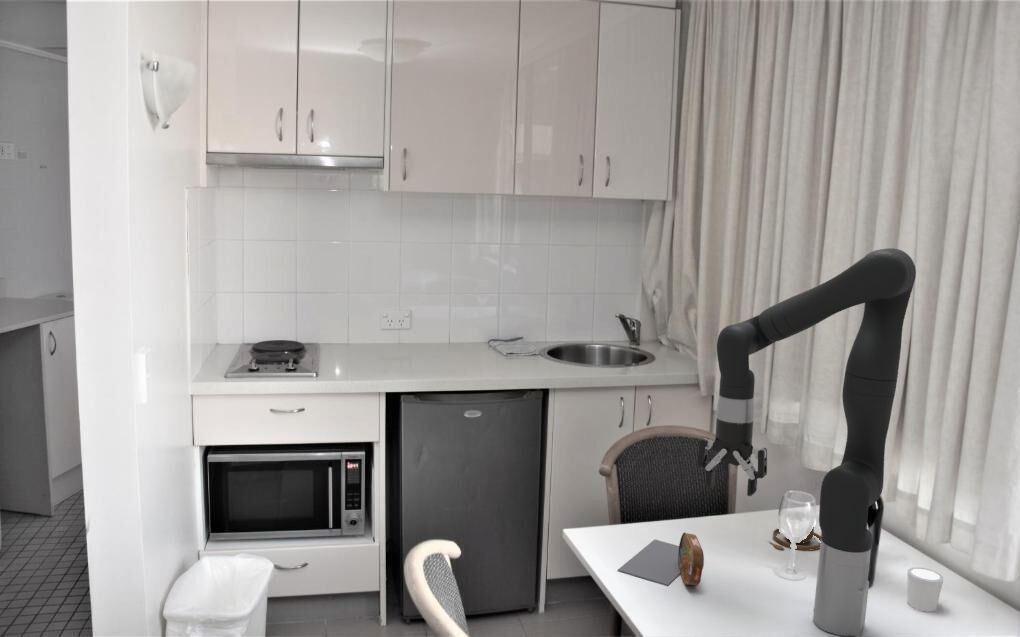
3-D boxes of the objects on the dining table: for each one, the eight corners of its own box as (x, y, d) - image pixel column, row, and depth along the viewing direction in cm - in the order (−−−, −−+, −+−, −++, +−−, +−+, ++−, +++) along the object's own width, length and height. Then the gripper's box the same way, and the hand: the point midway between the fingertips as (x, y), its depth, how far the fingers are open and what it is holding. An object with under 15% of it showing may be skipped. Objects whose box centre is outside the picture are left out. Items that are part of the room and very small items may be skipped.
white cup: (946, 608, 175) (950, 577, 174) (926, 615, 171) (930, 583, 170) (917, 594, 181) (920, 564, 180) (896, 601, 177) (900, 570, 176)
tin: (676, 559, 192) (680, 525, 191) (689, 561, 192) (694, 527, 191) (687, 592, 177) (691, 555, 176) (701, 593, 177) (706, 556, 176)
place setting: (809, 529, 216) (811, 508, 215) (868, 562, 198) (870, 538, 197) (754, 537, 210) (756, 515, 209) (809, 571, 191) (811, 547, 190)
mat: (701, 553, 198) (701, 552, 198) (667, 586, 180) (667, 584, 180) (654, 540, 204) (654, 539, 204) (617, 570, 186) (617, 569, 186)
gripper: (774, 418, 174) (768, 493, 177) (708, 408, 182) (704, 479, 184) (763, 426, 168) (758, 503, 170) (696, 415, 176) (692, 489, 178)
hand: (730, 491), depth 177 cm, fingers open, 8 cm apart
